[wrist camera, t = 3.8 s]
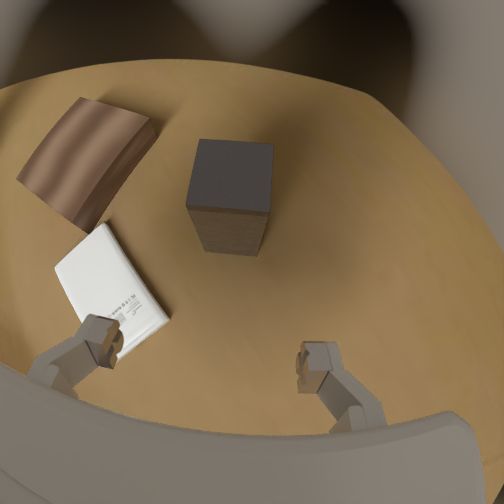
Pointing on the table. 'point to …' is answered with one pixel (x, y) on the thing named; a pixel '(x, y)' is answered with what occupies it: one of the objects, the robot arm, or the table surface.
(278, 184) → the table surface
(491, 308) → the table surface
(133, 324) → the external hard drive
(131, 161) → the stand
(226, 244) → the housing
